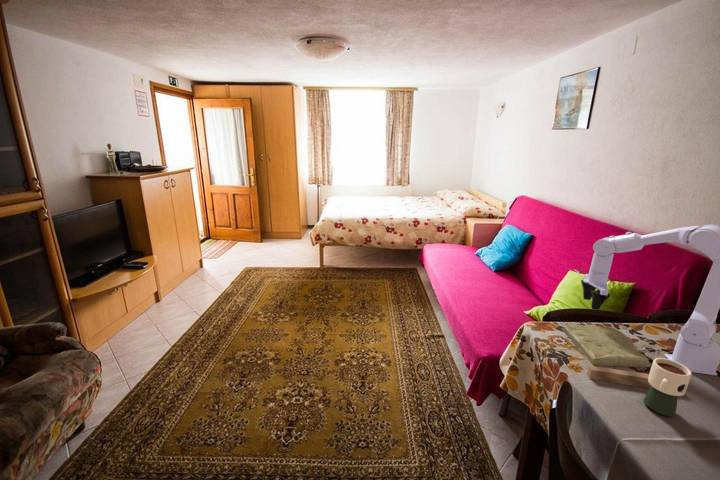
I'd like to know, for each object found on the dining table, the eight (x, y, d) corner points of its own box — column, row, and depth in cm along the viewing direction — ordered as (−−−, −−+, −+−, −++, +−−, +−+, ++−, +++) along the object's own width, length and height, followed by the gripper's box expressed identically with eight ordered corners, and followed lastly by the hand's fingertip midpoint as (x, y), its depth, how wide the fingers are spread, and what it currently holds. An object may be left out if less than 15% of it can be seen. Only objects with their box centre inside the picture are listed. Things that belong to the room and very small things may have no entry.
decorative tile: (591, 365, 103) (593, 356, 102) (560, 330, 122) (562, 322, 121) (655, 370, 101) (658, 360, 100) (614, 333, 120) (616, 325, 119)
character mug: (671, 427, 80) (687, 383, 76) (635, 409, 85) (648, 367, 81) (681, 406, 86) (696, 365, 82) (646, 391, 91) (659, 351, 88)
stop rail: (674, 387, 93) (677, 378, 92) (679, 392, 91) (682, 383, 90) (586, 374, 98) (588, 365, 97) (589, 378, 96) (591, 369, 95)
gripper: (579, 262, 125) (572, 294, 129) (595, 277, 112) (586, 312, 116) (600, 264, 124) (592, 296, 128) (619, 279, 110) (609, 314, 114)
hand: (590, 304), depth 122 cm, fingers open, 7 cm apart
